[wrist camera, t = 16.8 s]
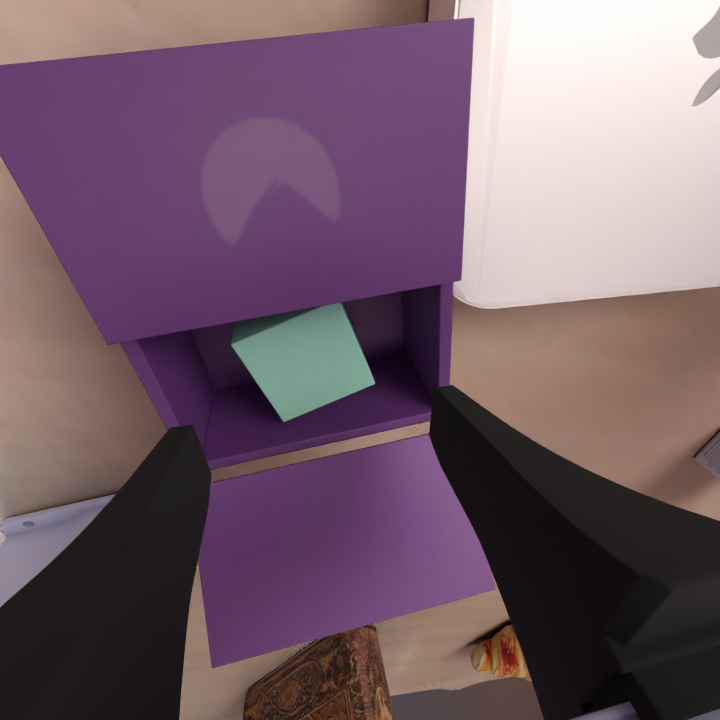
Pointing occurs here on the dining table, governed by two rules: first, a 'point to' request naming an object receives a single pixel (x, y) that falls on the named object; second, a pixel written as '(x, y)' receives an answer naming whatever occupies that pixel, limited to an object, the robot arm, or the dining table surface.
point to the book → (326, 682)
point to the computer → (590, 149)
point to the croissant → (501, 655)
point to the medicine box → (711, 456)
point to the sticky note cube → (303, 357)
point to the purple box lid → (333, 548)
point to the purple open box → (257, 212)
